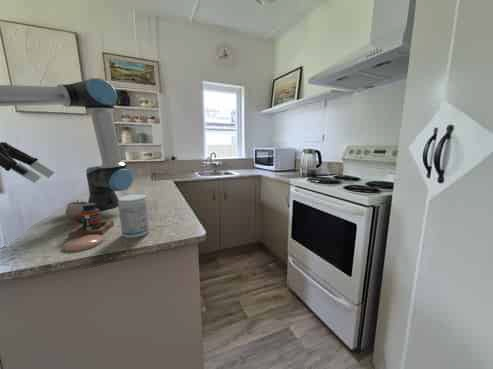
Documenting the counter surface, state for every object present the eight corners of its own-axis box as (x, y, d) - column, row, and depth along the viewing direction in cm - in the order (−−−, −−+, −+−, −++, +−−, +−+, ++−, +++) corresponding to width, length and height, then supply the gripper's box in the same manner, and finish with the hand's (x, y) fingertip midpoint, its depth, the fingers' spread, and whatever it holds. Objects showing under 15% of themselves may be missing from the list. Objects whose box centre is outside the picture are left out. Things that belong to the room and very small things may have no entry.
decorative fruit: (96, 216, 101) (93, 196, 99) (88, 222, 93) (85, 201, 91) (73, 218, 99) (70, 198, 97) (63, 224, 91) (59, 202, 89)
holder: (85, 227, 88) (84, 222, 88) (113, 225, 90) (113, 220, 90) (68, 238, 77) (68, 233, 77) (101, 235, 79) (100, 230, 79)
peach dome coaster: (76, 238, 77) (76, 236, 77) (109, 235, 79) (108, 233, 79) (55, 253, 66) (55, 250, 66) (94, 249, 68) (93, 246, 68)
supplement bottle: (92, 234, 80) (88, 206, 78) (79, 233, 81) (75, 205, 79) (105, 228, 86) (101, 202, 84) (93, 227, 87) (89, 201, 85)
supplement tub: (125, 230, 84) (121, 195, 81) (151, 227, 87) (147, 193, 84) (119, 240, 75) (114, 201, 72) (147, 237, 78) (143, 198, 75)
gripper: (-15, 142, 74) (48, 180, 84) (-74, 139, 53) (20, 191, 62) (3, 127, 76) (63, 166, 86) (-46, 119, 54) (41, 172, 64)
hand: (45, 177), depth 74 cm, fingers open, 13 cm apart
